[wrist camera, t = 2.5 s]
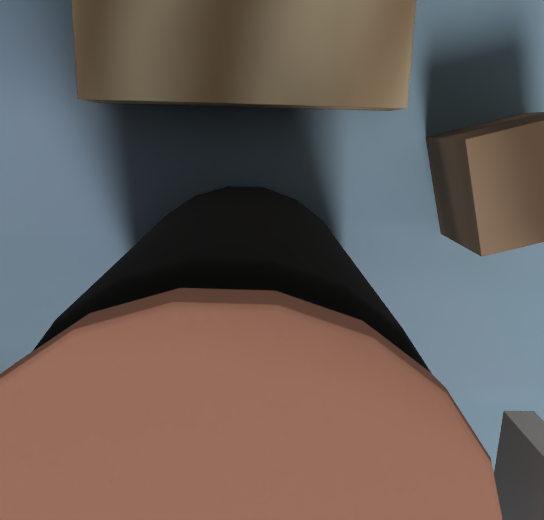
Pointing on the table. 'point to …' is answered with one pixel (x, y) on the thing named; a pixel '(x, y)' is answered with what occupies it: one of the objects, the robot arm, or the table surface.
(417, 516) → the coffee jar
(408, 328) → the table surface
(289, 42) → the pallet dock
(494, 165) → the cargo block
